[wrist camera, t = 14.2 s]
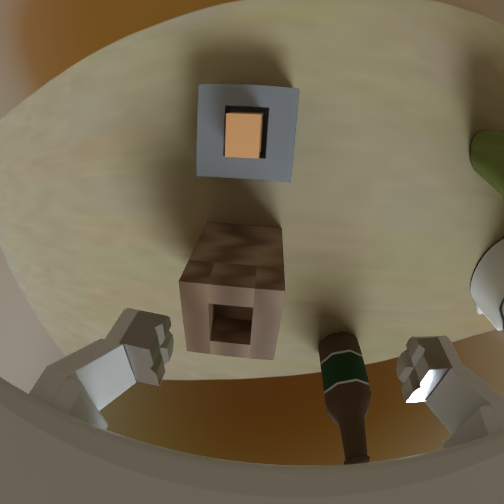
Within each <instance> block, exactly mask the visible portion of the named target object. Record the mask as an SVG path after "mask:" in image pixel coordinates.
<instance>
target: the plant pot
mask: <svg viewBox="0 0 504 504" xmlns="http://www.w3.org/2000/svg"><path fill="white" fill-rule="evenodd" d="M470 160H471V164H472V166H473V168H474V170H475V171H476V172H477V173H478V174H479V175H480V176H481V177H482V178H484V179H485V180H486V181H487V182H488V183H489V184H490V185H491V186H493V187H494V188H495V189H496V190H497V191H498V192H499V193H500V194H501V195H502V196H503V198H504V131H492V130H483V131H480V132H479V133H477V134H476V135H475V137H474V139H473V140H472V143H471V155H470Z"/></svg>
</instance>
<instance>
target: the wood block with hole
mask: <svg viewBox="0 0 504 504" xmlns="http://www.w3.org/2000/svg"><path fill="white" fill-rule="evenodd" d="M179 288H180V298H181V307H182V315H183V323H184V331H185V338H186V346H187V351H191V352H199V353H206V354H214V355H223V356H232V357H242V358H253V359H266V360H274V355H275V349H276V343H277V338H278V332H279V326H280V320H281V314H282V307H283V301H284V295H285V279H284V260H283V243H282V228H274V227H262V226H250V225H237V224H224V223H210V222H208V223H207V225H206V227H205V229H204V231H203V233H202V235H201V237H200V239H199V241H198V243H197V245H196V247H195V249H194V251H193V253H192V255H191V257H190V259H189V261H188V263H187V265H186V267H185V269H184V271H183V273H182V276H181V278H180V280H179Z"/></svg>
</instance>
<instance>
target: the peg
mask: <svg viewBox="0 0 504 504" xmlns="http://www.w3.org/2000/svg"><path fill="white" fill-rule="evenodd" d="M262 131H263V113H261V112H238V111H237V112H231V113H226V135H225V157H238V158H257V159H259V155H260V151H261V147H262Z"/></svg>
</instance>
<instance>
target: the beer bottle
mask: <svg viewBox="0 0 504 504" xmlns="http://www.w3.org/2000/svg"><path fill="white" fill-rule="evenodd" d="M319 355H320V364H321V372H322V380H323V388H324V397H325V405H326V410H327V413H328V414H329V416H330V418H331V419H332V420H333V421H334V422H335V423H336V424H337V425H338V427H339V430H340V433H341V437H342V442H343V448H344V454H345V459H346V460H345V461H344V465H346V464H359V463H369V458H370V457H369V456H367V446H366V435H365V425H364V424H365V417H366V415H367V413H368V409H369V403H370V397H371V392H370V385H369V381H368V377H367V373H366V369H365V365H364V361H363V357H362V354H361V350H360V346H359V343H358V340H357V338H356V337H354V336H352V335H350V334H348V333H346V332H342V333H337V334H332V335H329V336H328V337H327V338H326V339H324V340H323V341H322V342H321V343H320V344H319Z"/></svg>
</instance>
